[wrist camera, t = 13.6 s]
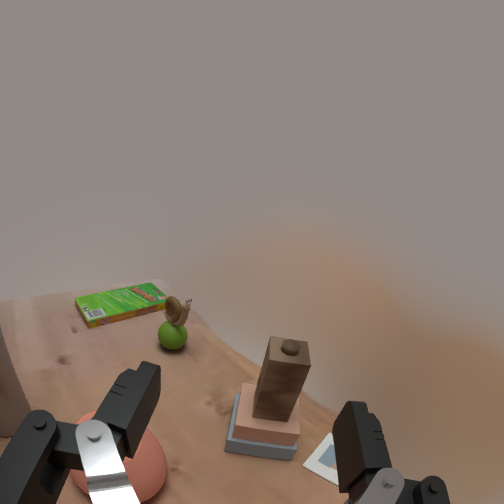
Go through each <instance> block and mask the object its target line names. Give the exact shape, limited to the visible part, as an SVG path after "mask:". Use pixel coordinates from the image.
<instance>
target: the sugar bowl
mask: <svg viewBox="0 0 504 504" xmlns="http://www.w3.org/2000/svg"><path fill="white" fill-rule="evenodd" d="M96 411H97V410H96ZM96 411H92V412H89V413H87V414H85V415H84V416H82V417H81V418H80V419H79V420H78V421H77V422H76V423H75V424H80V423H82V422H84V421H86V420H90V419H91V418H93V416H94V415H95V413H96ZM122 464H123V467H124V469H125V472H126V474H127V476H128V478H129V481H130V483H131V485H132V488H133V490H134V492H135V494H136V497H137V499H138V501H139V503H141V502H144V501H146V500H148V499H150V498H151V497H153V496H154V495H155V494H156V493H157V492H158V491H159V490H160V489H161V487H162V486H163V484H164V482H165V479H166V476H167V462H166V457H165V454H164V451H163V449H162V447H161V445H160V443H159V442H158V440H157V439H156V437H155V436H154V435H153V434H152V433H151V431H150V430H149V429H148V428H146V430H145V432H144V434H143V437H142V439H141V441H140V444H139V446H138V448H137V451H136V453H135V455H134V458H133V459H131V458H128V457H126V456H125V459H124V461H123V463H122ZM69 473H70V475H71V477H72V478H73V480H74V481H75V483H76V484H77V485H78V486H79V488H80V489H82V490H83V491H84V492H85V493H86V494H88V495H89V496H90V494H89V491H88V487H87V483H88V481H87V477H86V474H85V471H80V470H74V469H71V470H70V472H69Z"/></svg>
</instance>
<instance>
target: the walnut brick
mask: <svg viewBox="0 0 504 504" xmlns="http://www.w3.org/2000/svg"><path fill="white" fill-rule="evenodd" d="M310 367H311V364H310V356H309V349H308V342H304V341H297V340H292V339H286V338H279V337H274V336H270V339H269V343H268V347H267V351H266V354H265V358H264V361H263V365H262V369H261V372H260V376H259V379H258V383H257V387H256V390H255V394H254V404H253V413H252V418H258V419H265V420H272V421H280V422H288V420H289V418H290V415H291V413H292V411H293V408H294V406H295V404H296V401H297V399H298V397H299V394H300V392H301V389H302V387H303V384H304V382H305V379H306V377H307V374H308V372H309V369H310Z"/></svg>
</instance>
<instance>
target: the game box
mask: <svg viewBox="0 0 504 504" xmlns="http://www.w3.org/2000/svg"><path fill="white" fill-rule="evenodd" d="M153 289H154V290H156V291H157V292H159V294H160V295H158V294H157V293H156V292H155V291H154V290H153ZM167 298H168V297H167V296H166V295H165V294H164V293H162V292H161V291H160V290H159V289H158V288H157V287H156V286H155V285H153V284H152V283H145V284H140V285H135V286H130V287H126V288H121V289H116V290H111V291H106V292H101V293H96V294H91V295H86V296H81V297H76V298H75V303H76V307H77V308H78V310H79V312H80V314H81V315H82V317H83V319H84V321H85V323H86V324H87V326H88V328H93V327H97V326H101V325H105V324H109V323H113V322H117V321H121V320H125V319H129V318H133V317H137V316H140V315H144V314H148V313H152V312H156V311H160V310H163V309H165V300H166V299H167Z"/></svg>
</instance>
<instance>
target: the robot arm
mask: <svg viewBox="0 0 504 504" xmlns="http://www.w3.org/2000/svg"><path fill="white" fill-rule="evenodd" d="M160 390H161V368H160V366H159V365H156V364H152V363H149V362H146V361H142V362H141V364H140V365H139V367H138V369H137V371H135V370H132V369H127V370H126V371H124V372H123V373H121V374H120V375H119V376H118V378H117V379H116V381H115V383H114V385H113V386H112V387H111V389H110V392H108V394H107V395H106V397H105V398H104V400H103V402H102V403H101V405H100V407H99V408H98V410H97V411H96V413H95V415H94V416H93V418H91V419H90V420H86V421H84V422H82V423H80V424H70V423H65V422H59V421H56V420H55V418H54V417H53V416H52V414H50V413H49V412H47V411H45V410H34V411H31V410H30V406H29V403H28V401H27V399H26V397H25V394H24V392H23V390H22V387H21V385H20V382H19V380H18V377H17V375H16V372H15V369H14V367H13V364H12V361H11V358H10V356H9V353H8V350H7V347H6V343H5V340H4V337H3V334H2V330H1V327H0V436H1V437H10V436H13V437H12V439H11V440H10V442H9V444H8V445H7V447H6V449H5V450H4V452H3V454H2V455H1V457H0V504H56V502H57V500H58V497H59V495H60V493H61V490H62V488H63V486H64V483H65V481H66V479H67V477H68V474H69V472H70V470H71V469H74V470H80V471H85V474H86V477H87V481H88V483H87V487H88V491H89V494H90V497H91V500H92V502H93V504H140V503H139V501H138V499H137V497H136V494H135V492H134V490H133V488H132V485H131V483H130V481H129V478H128V476H127V474H126V472H125V469H124V467H123V464H122V463H123V461H124V459H125V456H126V457H128V458H131V459H133V458H134V455H135V453H136V451H137V448H138V446H139V444H140V441H141V439H142V437H143V434H144V432H145V430H146V427H147V425H148V423H149V421H150V418H151V416H152V414H153V411H154V409H155V407H156V405H157V402H158V400H159V396H160ZM332 435H333V442H334V450H335V458H336V466H337V474H338V483H339V493H349V498H348V499H347V500H346V501H345V503H344V504H450V501H449V497H448V493H447V489H446V485H445V483H444V481H443V480H442V479H441V478H439V477H437V476H428V477H426V478H425V479H423V480H422V481H415V480H409V479H404V478H403V476H402V474H401V473H400V472H399V471H397V470H396V469H393V468H392V465H391V461H390V457H389V453H388V450H387V446H386V442H385V440H384V435H383V433H382V428H381V425H380V422H379V420H378V419H377V418H376V416H375V415H374V414H373V413H369V412H368V409H367V405H366V403H365V402H357V401H348V402H347V403H346V404H345V406H344V407H343V409H342V411H341V412H340V414H339V415H338V417H337V419H336V420H335V422H334V425H333V430H332Z"/></svg>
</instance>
